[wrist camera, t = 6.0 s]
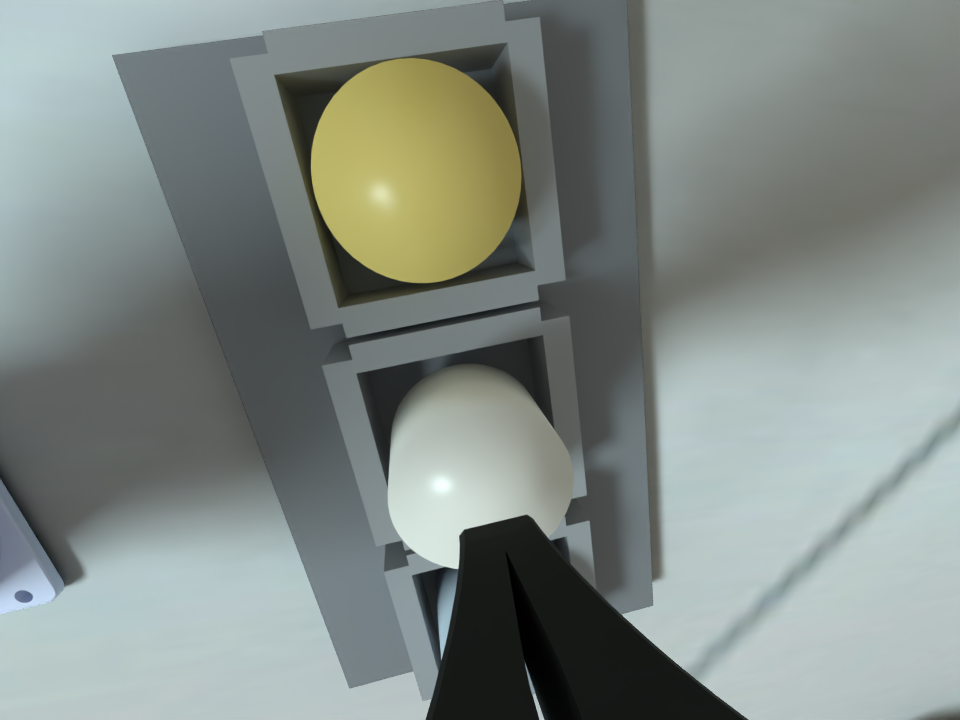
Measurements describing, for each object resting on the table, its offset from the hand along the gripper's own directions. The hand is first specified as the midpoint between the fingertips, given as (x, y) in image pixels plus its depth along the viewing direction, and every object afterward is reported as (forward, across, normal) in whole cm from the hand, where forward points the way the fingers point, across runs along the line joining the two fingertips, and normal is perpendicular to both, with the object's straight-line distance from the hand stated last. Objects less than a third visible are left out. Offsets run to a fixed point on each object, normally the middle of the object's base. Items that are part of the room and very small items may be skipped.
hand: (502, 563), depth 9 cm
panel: (+8, 0, 0) cm, 8 cm away
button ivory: (+5, 0, 0) cm, 5 cm away
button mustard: (+7, 0, -7) cm, 10 cm away
